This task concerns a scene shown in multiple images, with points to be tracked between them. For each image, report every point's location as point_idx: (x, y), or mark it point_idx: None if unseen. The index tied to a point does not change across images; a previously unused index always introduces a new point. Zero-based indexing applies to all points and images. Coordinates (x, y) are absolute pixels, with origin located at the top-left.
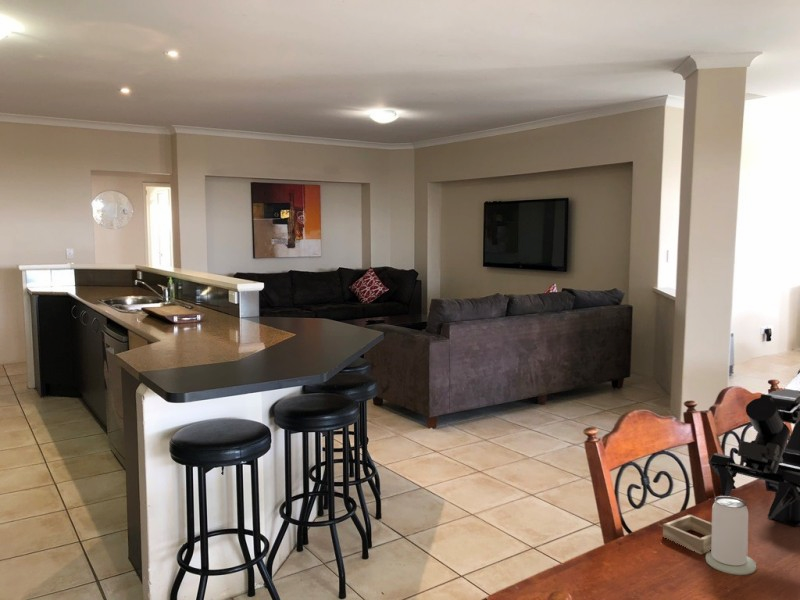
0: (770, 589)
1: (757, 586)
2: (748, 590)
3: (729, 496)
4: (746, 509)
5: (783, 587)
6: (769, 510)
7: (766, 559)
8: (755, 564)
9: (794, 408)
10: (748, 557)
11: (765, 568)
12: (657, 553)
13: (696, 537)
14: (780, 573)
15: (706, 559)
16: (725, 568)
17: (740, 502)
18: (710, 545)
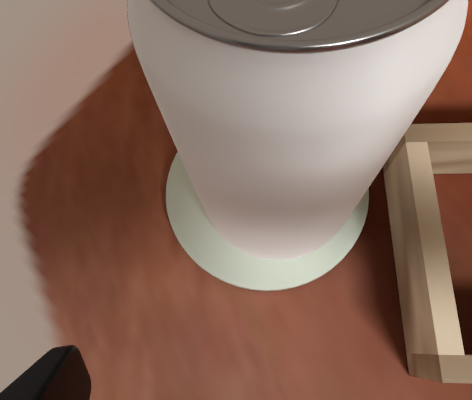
0: (72, 143)
1: (111, 125)
2: (119, 81)
3: (426, 6)
4: (135, 10)
5: (45, 192)
6: (42, 384)
7: (194, 369)
8: (182, 243)
9: None
10: (236, 279)
11: (155, 277)
12: (467, 36)
13: (441, 132)
14: (94, 289)
15: None
16: None
17: (240, 22)
18: (397, 213)
